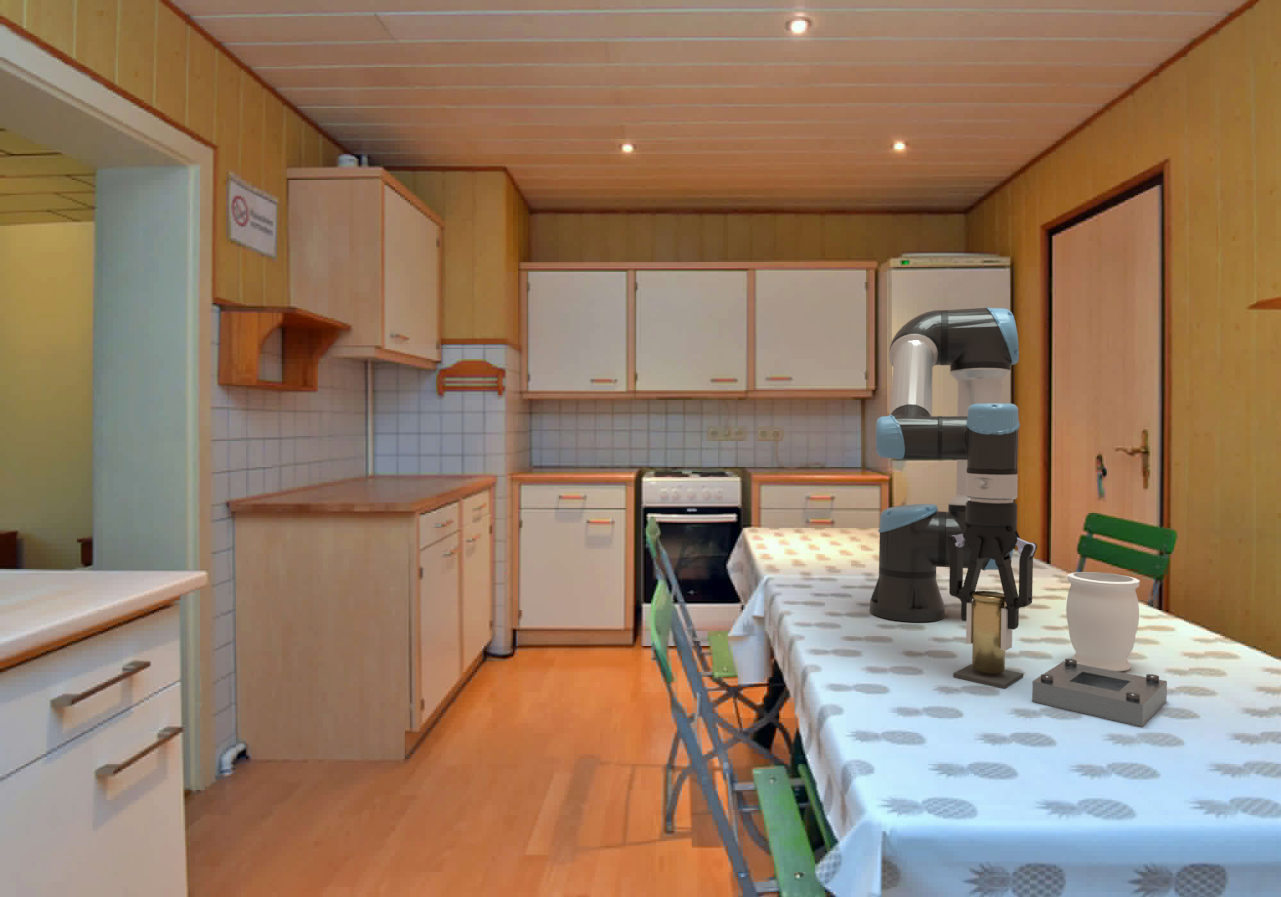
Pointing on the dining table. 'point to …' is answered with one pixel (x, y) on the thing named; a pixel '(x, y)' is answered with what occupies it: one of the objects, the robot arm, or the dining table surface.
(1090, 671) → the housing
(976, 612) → the brass-coloured knob
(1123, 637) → the jar
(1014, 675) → the mat
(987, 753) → the dining table surface
